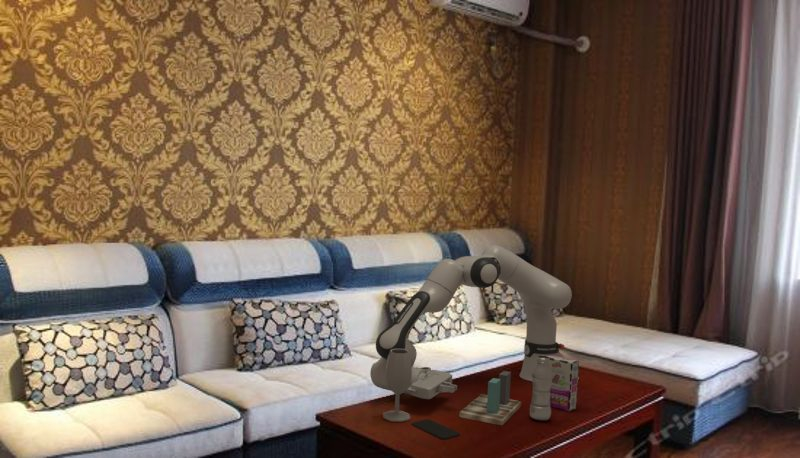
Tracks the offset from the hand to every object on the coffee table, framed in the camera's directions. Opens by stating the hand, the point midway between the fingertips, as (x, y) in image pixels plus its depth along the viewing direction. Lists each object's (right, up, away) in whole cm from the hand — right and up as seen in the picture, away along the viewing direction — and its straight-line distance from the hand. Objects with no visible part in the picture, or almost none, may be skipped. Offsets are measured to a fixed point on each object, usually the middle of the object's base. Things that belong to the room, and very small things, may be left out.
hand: (455, 389), depth 225 cm
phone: (-7, -9, -18) cm, 21 cm away
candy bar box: (+35, -8, +9) cm, 37 cm away
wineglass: (-19, -7, -9) cm, 22 cm away
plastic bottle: (+26, -9, -5) cm, 28 cm away
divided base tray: (+11, -7, +1) cm, 14 cm away
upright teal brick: (+11, -6, -5) cm, 14 cm away
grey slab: (+16, -6, +4) cm, 17 cm away
